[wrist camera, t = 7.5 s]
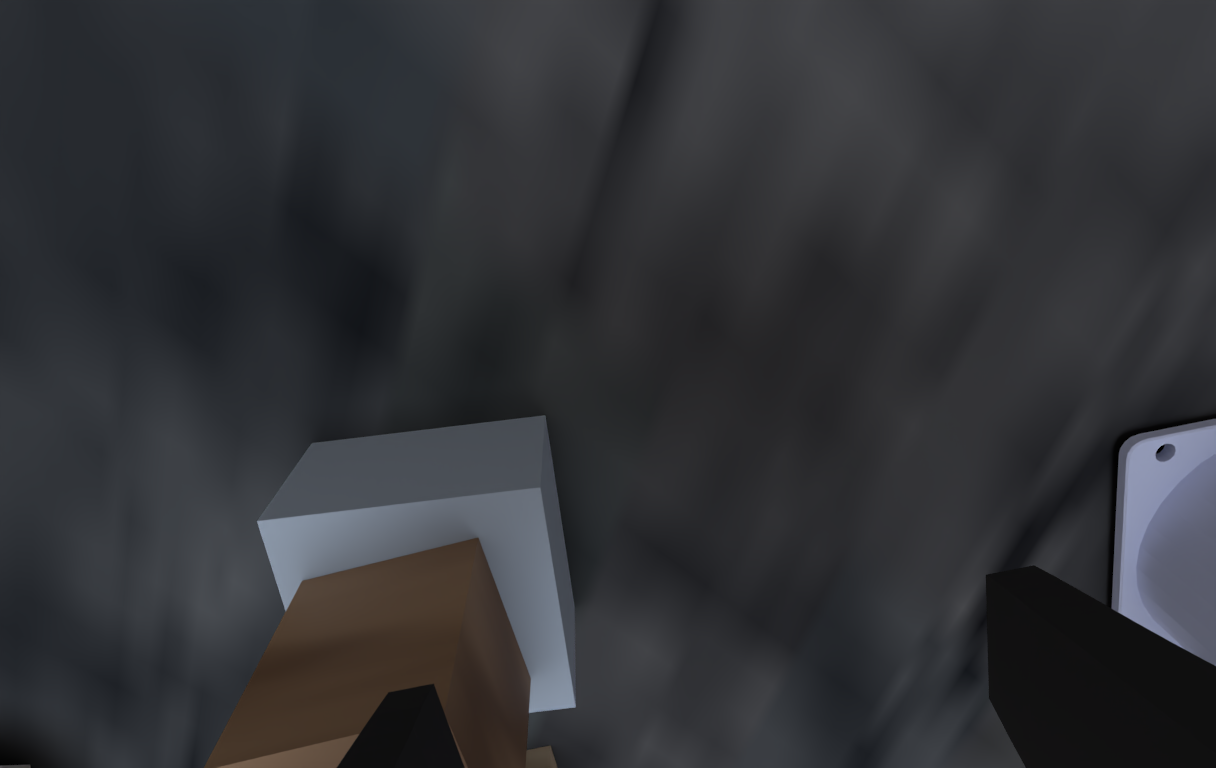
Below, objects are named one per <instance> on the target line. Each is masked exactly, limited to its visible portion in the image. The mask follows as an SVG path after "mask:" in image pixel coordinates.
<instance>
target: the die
mask: <svg viewBox="0 0 1216 768" xmlns="http://www.w3.org/2000/svg"><path fill="white" fill-rule="evenodd" d="M0 768H31V766H30V765H2V766H0Z"/></svg>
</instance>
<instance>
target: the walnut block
mask: <svg viewBox="0 0 1216 768" xmlns="http://www.w3.org/2000/svg"><path fill="white" fill-rule="evenodd" d="M428 684H434V686H435V689H436V691H437V694H438V697H439V699H440V702H441V705H442V708H443V710H444V713H445V716H446V719H447V721H448V724H449V727H450V729H451V732H452V735H453V738H454V740H455V743H456V746H457V748H458V751H459V754H460V757H461V759H462V762H463V765H464V767H465V768H526V751H527V735H528V718H529V702H530V686H531V677H530V675H529V672H528V669H527V667H526V664H525V661H524V658H523V656H522V653H521V650H520V648H519V645H518V642H517V640H516V637H515V634H514V632H513V629H512V626H511V624H510V621H509V618H508V616H507V613H506V610H505V607H504V605H503V602H502V599H501V597H500V594H499V591H498V589H497V586H496V583H495V581H494V578H493V575H492V573H491V570H490V567H489V565H488V562H487V559H486V557H485V554H484V551H483V548H482V546H481V543H480V540H479V538H474V539H470V540H466V541H462V542H458V543H454V544H450V545H446V546H442V547H437V548H433V549H429V550H425V551H421V552H417V553H413V554H409V555H405V556H401V557H397V558H393V559H389V560H385V561H381V562H377V563H373V564H369V565H365V566H361V567H356V568H352V569H348V570H344V571H340V572H336V573H332V574H328V575H324V576H320V577H316V578H312V579H308V580H304V581H302V582H301V584H300V586H299V587H298V589H297V591H296V593H295V595H294V597H293V599H292V601H291V603H290V605H289V607H288V608H287V610H286V612H285V614H284V616H283V618H282V620H281V622H280V624H279V626H278V628H277V629H276V631H275V633H274V635H273V637H272V639H271V641H270V643H269V645H268V647H267V649H266V650H265V652H264V654H263V656H262V658H261V660H260V662H259V664H258V666H257V668H256V670H255V671H254V673H253V675H252V677H251V679H250V681H249V683H248V685H247V687H246V689H245V691H244V692H243V694H242V696H241V698H240V700H239V702H238V704H237V706H236V708H235V710H234V712H233V713H232V715H231V717H230V719H229V721H228V723H227V725H226V727H225V729H224V731H223V732H222V734H221V736H220V738H219V740H218V742H217V744H216V746H215V748H214V750H213V752H212V753H211V755H210V757H209V759H208V761H207V763H206V765H205V767H204V768H337V766H338V765H339V763H340V762H341V760H342V759H343V757H344V756H345V754H346V753H347V751H348V750H349V749H350V747H351V746H352V744H353V743H354V741H355V740H356V738H357V737H358V735H359V734H360V732H361V731H362V729H363V728H364V726H365V725H366V724H367V722H368V721H369V719H370V718H371V716H372V715H373V713H374V712H375V711H376V709H377V708H378V706H379V705H380V704H381V702H382V701H383V699H384V698H385V696H386V695H387V694H388V692H393V691H398V690H403V689H408V688H413V687H418V686H423V685H428Z"/></svg>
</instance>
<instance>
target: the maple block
mask: <svg viewBox="0 0 1216 768" xmlns="http://www.w3.org/2000/svg"><path fill="white" fill-rule="evenodd" d="M526 768H557V765H556V761H555V758H554V755H553V752H552V749H551V746H546V747H541V748H536V749H530V750H527V751H526Z"/></svg>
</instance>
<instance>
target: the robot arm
mask: <svg viewBox="0 0 1216 768" xmlns="http://www.w3.org/2000/svg"><path fill="white" fill-rule="evenodd" d="M1162 445H1165V446H1164V449H1163V450H1162V451H1161V452H1160V453H1158V454H1156V452H1157V450H1158V449H1159V448H1160V447H1161V446H1162ZM986 596H987V634H988V672H989V699H990V701H991V703H992V705H993V707H994V709H995V710H996V712H997V714H998V716H999V718H1000V720H1001V722H1002V724H1003V726H1004V728H1005V730H1006V732H1007V734H1008V736H1009V737H1010V739H1011V741H1012V743H1013V745H1014V747H1015V749H1016V750H1017V752H1018V754H1019V756H1020V758H1021V759H1022V761H1023V763H1024V765H1025V767H1026V768H1216V419H1211V420H1206V421H1201V422H1196V423H1191V424H1186V425H1181V426H1176V427H1171V428H1166V429H1161V430H1156V431H1151V432H1146V433H1141V434H1137V435H1135V436H1132V437H1130V438H1129V439H1128V440H1126V441H1125V442H1124V444H1123V445H1122V446H1121V448H1120V452H1119V460H1118V481H1117V502H1116V524H1115V545H1114V566H1113V587H1112V609H1111V608H1110V607H1108V606H1106V605H1104V604H1102V603H1101V602H1099V601H1097V600H1095V599H1094V598H1092V597H1090V596H1088V595H1087V594H1085V593H1083V592H1081V591H1080V590H1078V589H1076V588H1074V587H1072V586H1071V585H1069V584H1067V583H1065V582H1064V581H1062V580H1060V579H1058V578H1056V577H1055V576H1053V575H1051V574H1049V573H1047V572H1045V571H1043V570H1041V569H1040V568H1038V567H1036V566H1029V567H1024V568H1019V569H1014V570H1009V571H1004V572H999V573H994V574H988V575H986ZM337 768H465V767H464V765H463V762H462V759H461V757H460V754H459V751H458V748H457V746H456V743H455V740H454V738H453V735H452V732H451V729H450V727H449V724H448V721H447V719H446V716H445V713H444V710H443V708H442V705H441V702H440V699H439V697H438V694H437V691H436V689H435V686H434V684H428V685H423V686H418V687H413V688H408V689H403V690H398V691H393V692H388V694H387V695H386V696H385V698H384V699H383V701H382V702H381V704H380V705H379V706H378V708H377V709H376V711H375V712H374V713H373V715H372V716H371V718H370V719H369V721H368V722H367V724H366V725H365V726H364V728H363V729H362V731H361V732H360V734H359V735H358V737H357V738H356V740H355V741H354V743H353V744H352V746H351V747H350V749H349V750H348V751H347V753H346V754H345V756H344V757H343V759H342V760H341V762H340V763H339V765H338V766H337Z"/></svg>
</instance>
